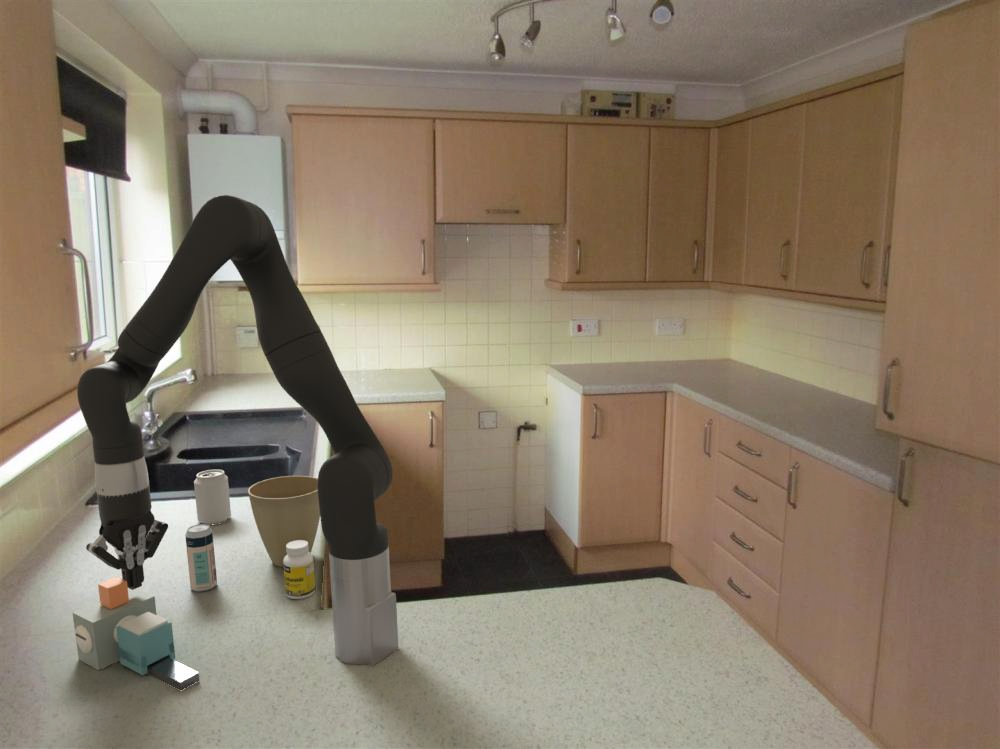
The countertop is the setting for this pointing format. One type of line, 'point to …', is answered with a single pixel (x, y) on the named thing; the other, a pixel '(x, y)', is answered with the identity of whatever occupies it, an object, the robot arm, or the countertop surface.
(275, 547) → the plant pot
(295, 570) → the supplement bottle
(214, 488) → the can
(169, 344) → the robot arm
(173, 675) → the rail
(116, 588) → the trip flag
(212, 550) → the beer can
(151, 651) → the box
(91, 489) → the countertop surface
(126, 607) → the cabinet
